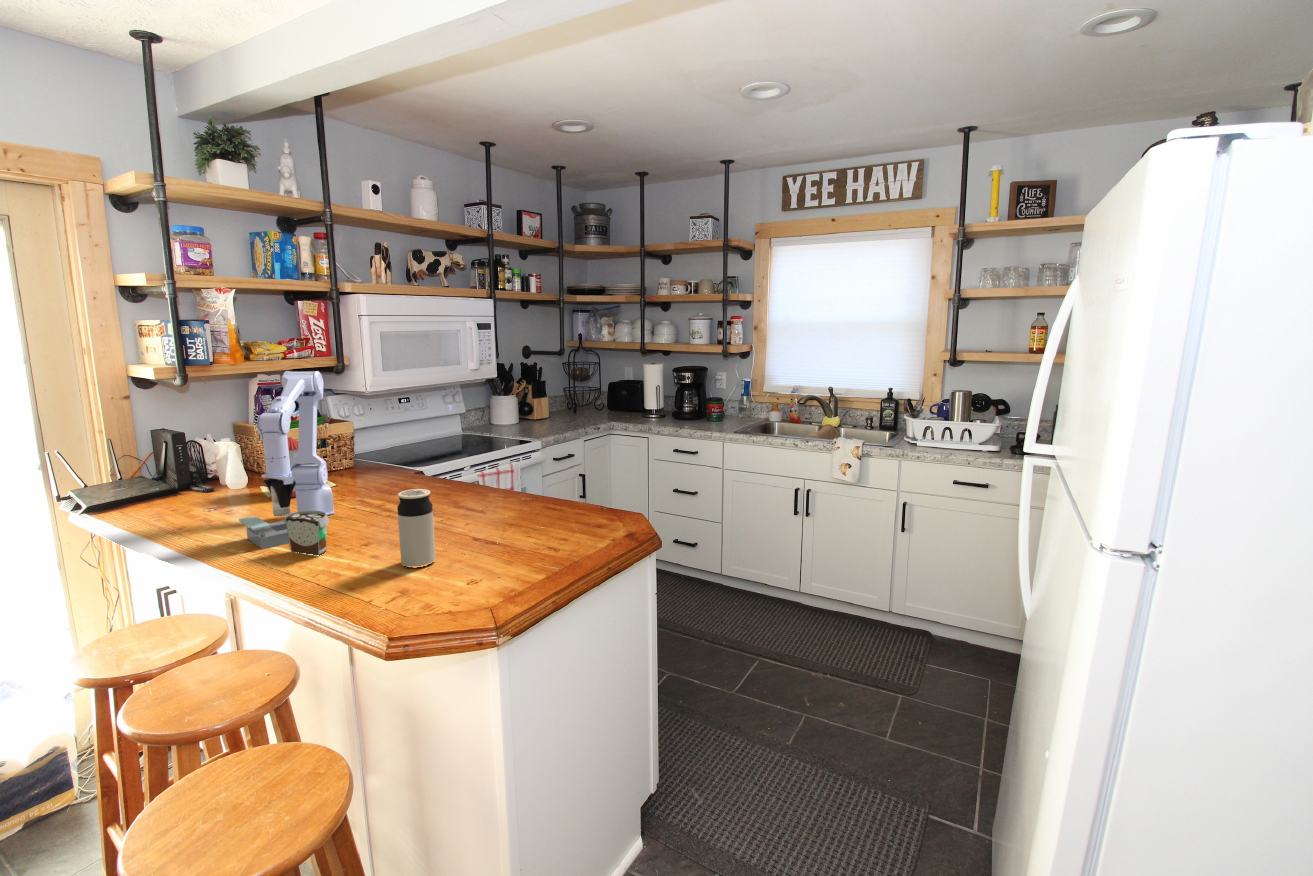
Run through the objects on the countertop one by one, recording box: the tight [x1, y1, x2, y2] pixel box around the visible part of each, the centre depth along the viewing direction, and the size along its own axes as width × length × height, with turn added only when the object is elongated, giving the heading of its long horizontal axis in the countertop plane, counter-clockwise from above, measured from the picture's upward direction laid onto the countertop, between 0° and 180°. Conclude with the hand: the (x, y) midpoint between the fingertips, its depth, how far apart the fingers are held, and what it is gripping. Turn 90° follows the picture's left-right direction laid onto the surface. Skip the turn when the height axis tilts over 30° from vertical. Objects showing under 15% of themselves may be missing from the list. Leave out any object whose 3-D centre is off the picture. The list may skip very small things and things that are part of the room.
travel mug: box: [397, 488, 437, 567], centre depth 155 cm, size 8×8×18 cm
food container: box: [283, 511, 330, 557], centre depth 164 cm, size 12×6×10 cm, turn 71°
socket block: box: [238, 515, 290, 550], centre depth 173 cm, size 14×12×6 cm
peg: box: [270, 486, 291, 517], centre depth 173 cm, size 4×4×8 cm
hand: (282, 505), depth 174 cm, fingers closed on peg, 4 cm apart
